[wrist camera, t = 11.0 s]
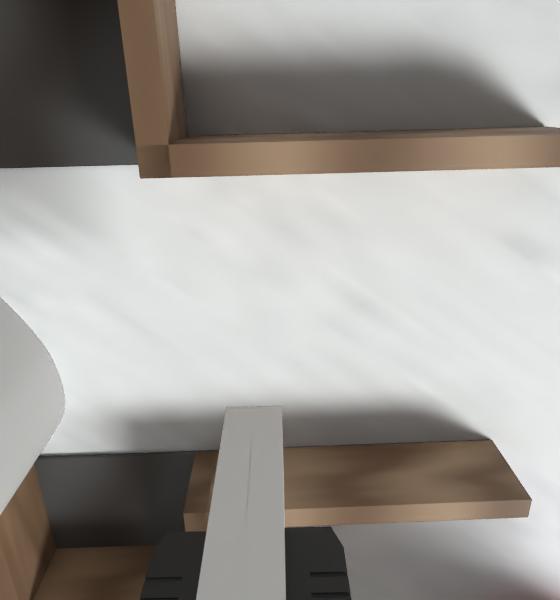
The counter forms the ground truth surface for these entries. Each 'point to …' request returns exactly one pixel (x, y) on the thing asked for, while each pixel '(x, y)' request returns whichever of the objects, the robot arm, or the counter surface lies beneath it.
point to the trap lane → (204, 163)
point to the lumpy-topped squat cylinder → (24, 400)
